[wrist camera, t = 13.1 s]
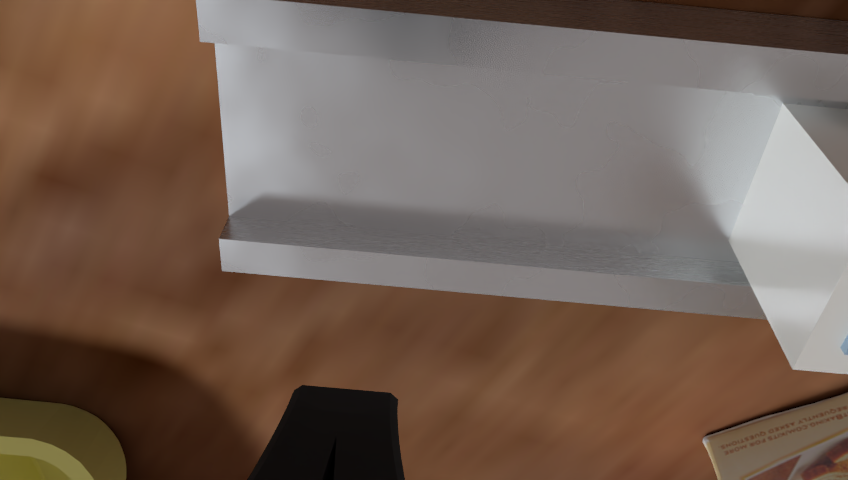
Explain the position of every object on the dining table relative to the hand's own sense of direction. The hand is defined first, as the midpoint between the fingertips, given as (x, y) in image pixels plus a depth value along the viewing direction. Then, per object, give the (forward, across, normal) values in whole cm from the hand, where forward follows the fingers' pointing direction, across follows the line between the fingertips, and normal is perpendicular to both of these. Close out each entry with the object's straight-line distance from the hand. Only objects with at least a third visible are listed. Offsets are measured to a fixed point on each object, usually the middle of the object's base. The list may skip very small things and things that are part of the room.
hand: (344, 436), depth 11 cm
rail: (+10, -6, 0) cm, 12 cm away
